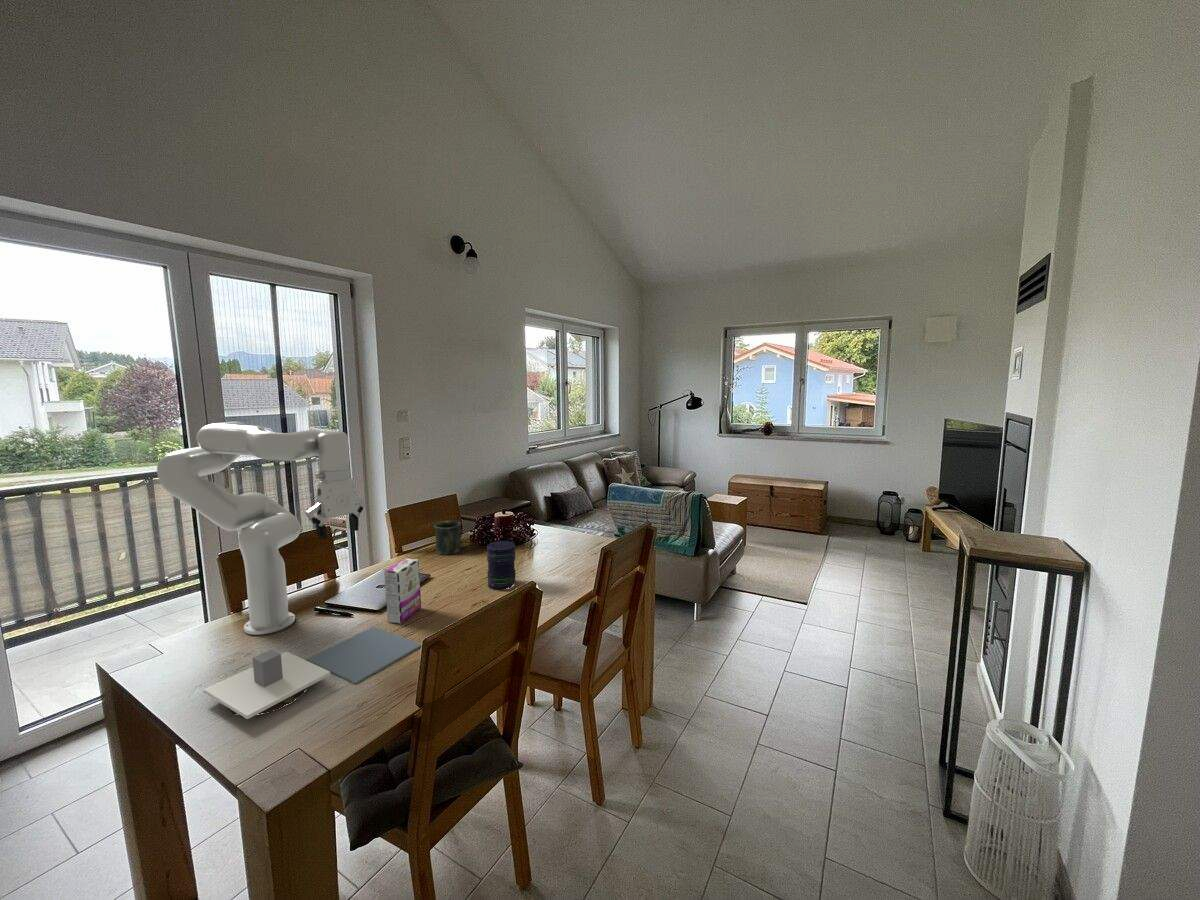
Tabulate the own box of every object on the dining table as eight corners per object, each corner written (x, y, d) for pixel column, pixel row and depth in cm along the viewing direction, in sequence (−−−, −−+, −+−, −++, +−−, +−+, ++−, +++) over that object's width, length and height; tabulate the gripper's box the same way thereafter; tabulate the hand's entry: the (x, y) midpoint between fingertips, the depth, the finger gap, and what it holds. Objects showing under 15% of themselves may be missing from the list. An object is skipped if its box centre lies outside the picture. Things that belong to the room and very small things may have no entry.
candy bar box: (407, 606, 159) (405, 557, 156) (421, 608, 158) (419, 558, 156) (386, 622, 148) (383, 570, 146) (401, 624, 147) (398, 572, 145)
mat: (306, 661, 127) (305, 659, 127) (374, 628, 145) (374, 626, 144) (355, 684, 118) (355, 682, 118) (422, 646, 135) (422, 644, 135)
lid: (203, 692, 110) (200, 664, 109) (286, 654, 126) (284, 629, 125) (247, 719, 101) (244, 688, 101) (330, 674, 117) (328, 648, 116)
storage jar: (518, 580, 181) (518, 541, 179) (511, 591, 171) (511, 550, 169) (492, 579, 182) (491, 540, 180) (483, 590, 172) (482, 548, 170)
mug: (429, 553, 207) (428, 526, 206) (451, 543, 221) (450, 517, 219) (450, 557, 204) (449, 529, 202) (471, 546, 217) (471, 520, 216)
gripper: (312, 482, 129) (316, 544, 132) (370, 472, 144) (373, 528, 147) (296, 479, 133) (300, 540, 135) (354, 469, 148) (357, 524, 150)
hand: (338, 534), depth 141 cm, fingers open, 9 cm apart
